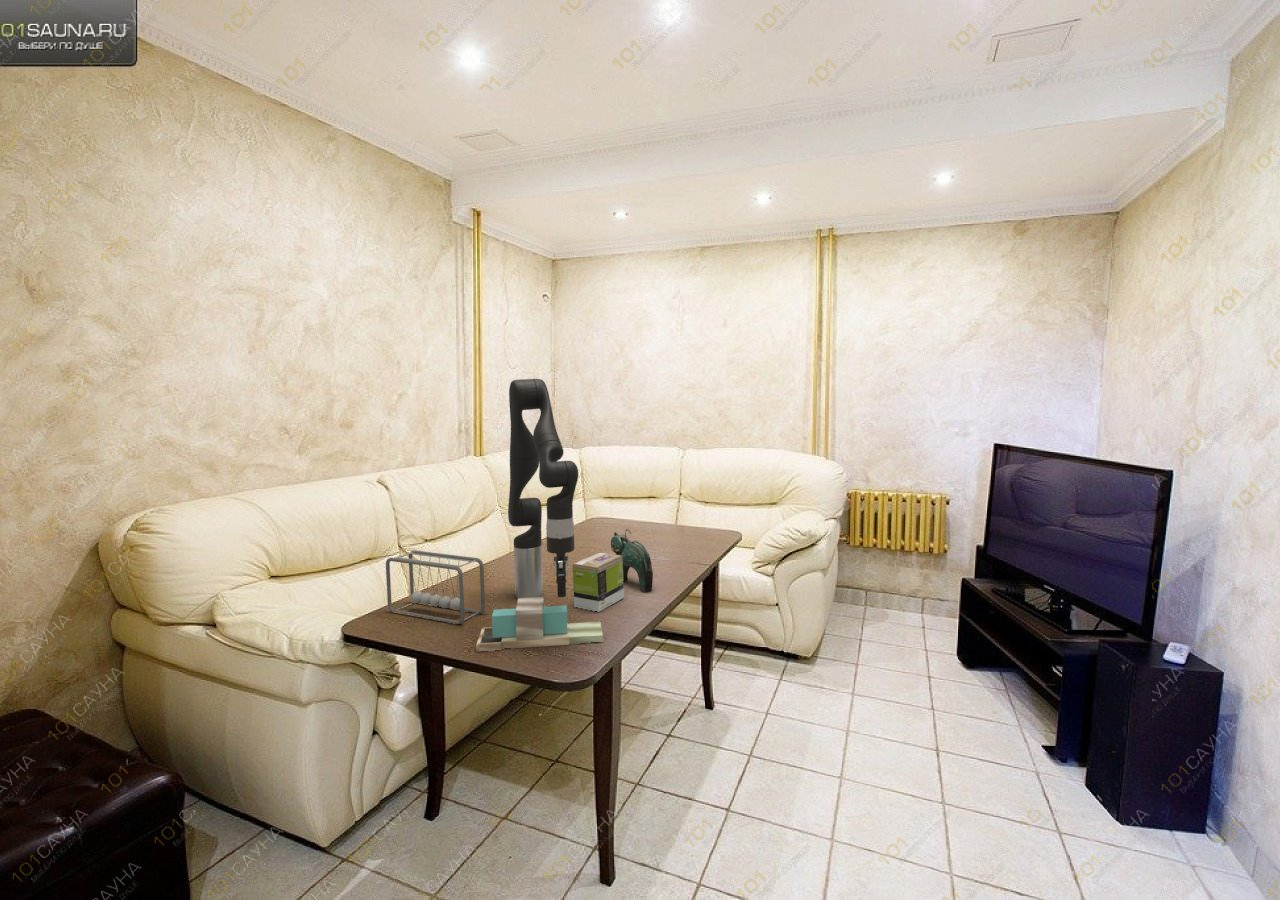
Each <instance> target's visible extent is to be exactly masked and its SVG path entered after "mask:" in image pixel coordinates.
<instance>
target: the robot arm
mask: <svg viewBox="0 0 1280 900" xmlns="http://www.w3.org/2000/svg"><path fill="white" fill-rule="evenodd" d="M508 391H509V392H508V396H509V397H508V398H509V399H508V401H509V402H508V403H509V417H510V419H509V420H510V437H509V438H510V442H509V495H508V505H507V506H508V507H507V518H508V522H509V524H510V526H511V527H530V528H529V529H528V530H526V531H524V532H523V533H520V534H518V535H516V536H515V537H514V538H513V560H514V561H513V566H514V595H515V596H514V597H515V598H516V599H518V598H533V597H543V595H544V588H543V587H544V582H543V581H544V580H543V574H544V573H543V551H542V550H543V547H542V546H543V544H542V542H543V541H542V518H543V517H542V516H543V515H542V514H543V513H542V511H543V510H542V509H543V508H542V502H541V500H540V499H539V498H538V497H522V498H521V495H522V493H523V491H524V489H525V488H526V486H527V485H528V483H529V482H530V481H531V480H532V478H533V477H534V476H535V474H536V473H537V472H538V478H539V483H540V484H541V485H543V487H544V488H548V489H552V488H561V490H560V492H559V493H557V494H554V495H551V496H548V498H547V499H546V529H545V531H546V551H547V552H548V553H550V554H555V555H556V556H553V566H554V576H556V580H555V582H556V584H557V588H556V589H557V597H558V598H565V597H566V596H567V590H566V589H567V576H568V575H569V574H568V571H569V570H568V566H569V556H568V555H566V554H567V553H569V554H570V553H571V552H573V551H575V524H574V515H573V513H574V512H573V510H574V509H573V502H574V497H575V491H576V487H577V484H578V482H579V481H578V479H579V469H578V466H577V464H576V463H575V462H574V461H572V460H561V459H562V458H563V456H564V453H565V452H564V448H563V445H562V442H561V440H560V437H559V434H558V431H557V427H556V424H555V418H554V413H553V408H552V404H551V399H550V393H549V389H548V386H547V384H546V383H545V381H544V380H543V379H542V378H541V379H540V378H525V379H513V380H512V381H511V382H510V384H509V389H508ZM529 410H531V411H532V410H540V416H539V418H538V420H537V423H536V424H535V427H534V430H533V433H532V432H531V431H530V429H529V428H528V427H527V425H526V423H525V420H524V419H523V411H529ZM560 460H561V461H560ZM538 469H539V471H538Z"/></svg>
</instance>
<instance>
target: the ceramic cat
mask: <svg viewBox="0 0 1280 900" xmlns="http://www.w3.org/2000/svg"><path fill="white" fill-rule="evenodd" d="M627 531H628V533H629V534H631V535H632V532H631V530H630V529H629V528H626V529H625V534H621V535H620V534H618V533H617V532H616V531H614V533H613V536H612V538H611V540H610V549H611V551H612V552H614V553H615V555H621V556H622V558H623V581H626V580H629V579H628V575H629V574H628V573H629V570H630V568H632V569H633V570H635V572H636V574H637V576H638V581H639V587H640V592H642V591H643V592H642V593H645V592H646V593H649V592H648V591H650V592H652V591H653V582H654V581H653V579H654V577H653V576H654V571H653V565H652V564H653V563H652V561H651V560H652V559H651V556H650V554H649V551H648V550H647V548H645V546H644V545H643V543H642V542H639V541H637V540H635V541H631V539H630V538H629V536H628V535H627ZM626 582H627V581H626Z"/></svg>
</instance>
